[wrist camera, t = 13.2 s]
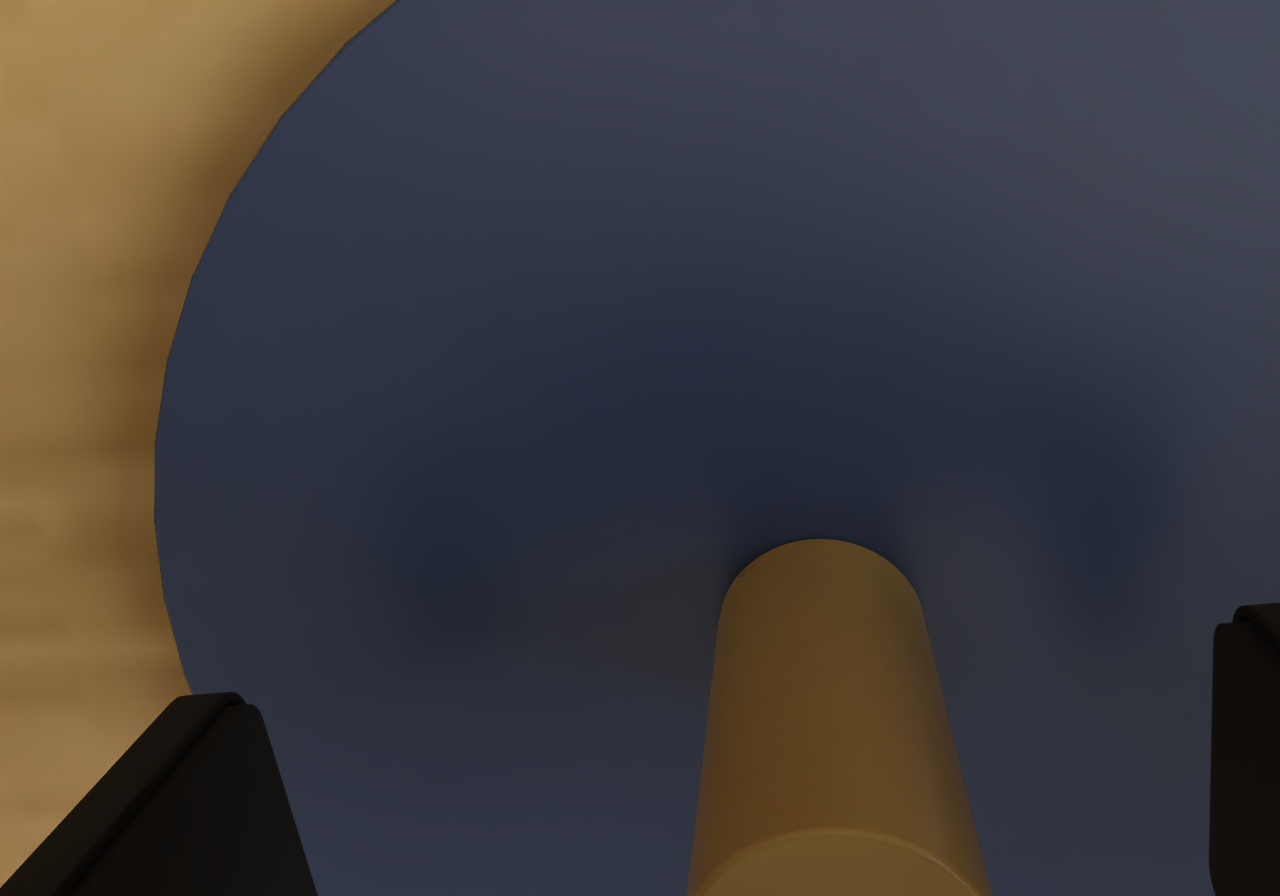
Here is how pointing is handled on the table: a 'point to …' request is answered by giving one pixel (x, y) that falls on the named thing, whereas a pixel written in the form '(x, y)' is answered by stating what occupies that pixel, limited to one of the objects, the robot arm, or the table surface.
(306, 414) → the tin lid
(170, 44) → the table surface
